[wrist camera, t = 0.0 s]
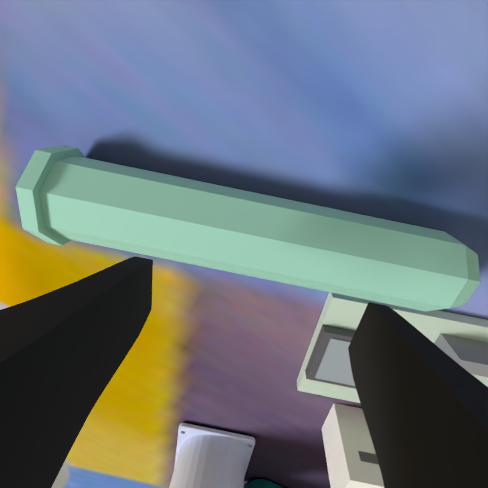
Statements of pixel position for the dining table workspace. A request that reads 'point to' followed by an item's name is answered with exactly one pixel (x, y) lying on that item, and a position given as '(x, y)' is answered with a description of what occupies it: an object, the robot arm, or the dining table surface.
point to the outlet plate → (343, 329)
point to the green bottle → (261, 484)
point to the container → (242, 232)
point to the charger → (350, 449)
